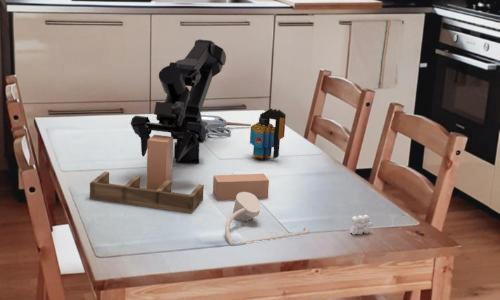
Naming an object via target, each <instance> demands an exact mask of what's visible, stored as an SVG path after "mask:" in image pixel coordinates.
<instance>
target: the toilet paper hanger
mask: <svg viewBox="0 0 500 300" xmlns="http://www.w3.org/2000/svg"><path fill="white" fill-rule="evenodd" d="M260 210H261V205H260V202H259V199H257V197H256V196H255V195H253V194H251V193H248V192H241V193H238V194H237V196H236V200H234V207H233V211H232V214H231V215H230V216H229V217H228V219H227V221H226V223H225V226H224V233H225V237H226V240H227V242H228V244H229V243H232V244H237V243H247V242H254V241H262V240H268V241H271V240H270V239H273V240H277V239H276V238H279V239H283V238H282V237H285V238H288V237H287V236H291V237H294V236H293V235H297V236H299V235H298V234H302V233H306V232H308V231H309V232H310V229H309V228H308V227H307V226H304V227H303V231H298V232H292V233H286V234H279V235H274V236H269V237H262V238H255V239H249V240H244V241H238V242H237V241H236V242H235V241H233V240H234V239H233V238H232V236H231V233H230V228H231V223H232V222H233V220H234V219H235V220H237V221H250V220H252V219H253V218H255V217H258V216H259V214H260V212H261V211H260ZM304 230H305V231H304ZM262 242H263V241H262Z"/></svg>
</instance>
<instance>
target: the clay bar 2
mask: <svg viewBox="0 0 500 300" xmlns="http://www.w3.org/2000/svg"><path fill="white" fill-rule="evenodd" d="M212 180H213V181H212V194H213V196H214V197H215V199H216V201H235V200H236V196H237V194H238V193H241V192H248V193H251V194H253V195H255V196H256V197H257V199H258V200H259V199H260V200H261V199H269V188H270V187H269V186H270V179H269V178H268V177H267V176H266V174H264V173H246V174H244V173H242V174H241V173H240V174H239V173H238V174H215V175H213V179H212Z"/></svg>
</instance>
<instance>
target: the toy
mask: <svg viewBox="0 0 500 300" xmlns="http://www.w3.org/2000/svg"><path fill="white" fill-rule="evenodd" d="M271 120H274V123H275V124H274V125H273V124H272V123H270V122H271ZM285 129H286V114H285V113H284V111H282V110H281V109H276V108H274V109H273V108H269V109H267V110H265V111H263V112H262V113H260V115H259V117H258V122H256V123H254V124H251V126H250V134H249V135H250V136H249V144H250V145H252V146H253V152H252V155H253V156H255V158H256V159H257V160H260V161H265V160H267V159H269V158H270V157H272V160H275V159H277V158H278V157H279V155H280V142H281V141H280V140H281V139H283V138H285ZM272 148H273V153H272ZM272 155H273V156H272Z"/></svg>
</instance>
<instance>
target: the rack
mask: <svg viewBox="0 0 500 300" xmlns="http://www.w3.org/2000/svg"><path fill="white" fill-rule="evenodd" d="M172 186H173V180H172V181H171V180H166V181H165V182H164V183H163V184H162V185H161V186H160V187H159V188H158V189H157V190H153V189H147V187H144V188H143V187H141V176H140V175H134V176H133V177H132V178H131V179H130V180H129V181H128V182H126V183H125V184H124V185H123V184H116V183H110V171H103V172H102V173H101V174H99V175H98V176H97V177H95V179H93V180H92V181H90V182H89V199H91V200H98V201H104V202H112V203H119V204H126V205H132V206H133V205H134V206H141V207H145V208H146V207H147V208H154V209H159V210H160V209H161V210H168V211H174V212H181V213H188V214H192V213H194V211H196V209H197V208H198V207H200V204H202V202H203V201H204V184H200V183H199V184H198V185H197V186H196V187H195V188H194V189H193V190H192V191H191V192H190V193H188V194H187V193H182V192H181V193H180V192H176V191H175V192H173V191H172Z"/></svg>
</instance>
